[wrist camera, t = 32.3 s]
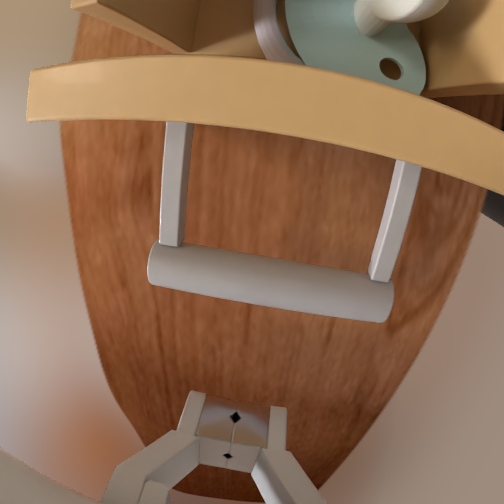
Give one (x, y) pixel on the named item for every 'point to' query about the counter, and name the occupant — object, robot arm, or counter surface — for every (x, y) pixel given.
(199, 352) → the counter surface
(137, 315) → the counter surface
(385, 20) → the pacifier
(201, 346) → the counter surface
